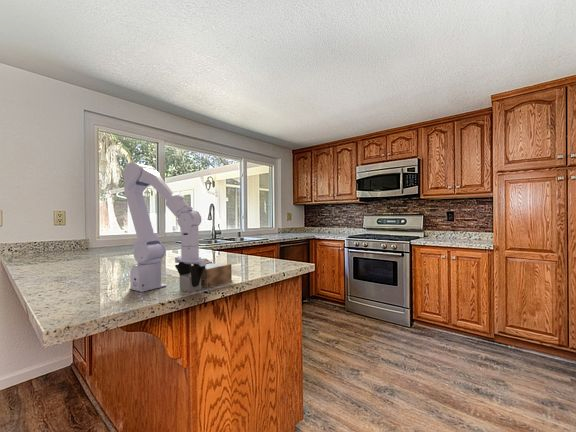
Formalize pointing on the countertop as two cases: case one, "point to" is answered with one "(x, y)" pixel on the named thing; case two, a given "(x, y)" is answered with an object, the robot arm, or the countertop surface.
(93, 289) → the countertop surface
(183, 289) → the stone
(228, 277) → the frame
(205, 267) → the trapdoor
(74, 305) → the countertop surface
